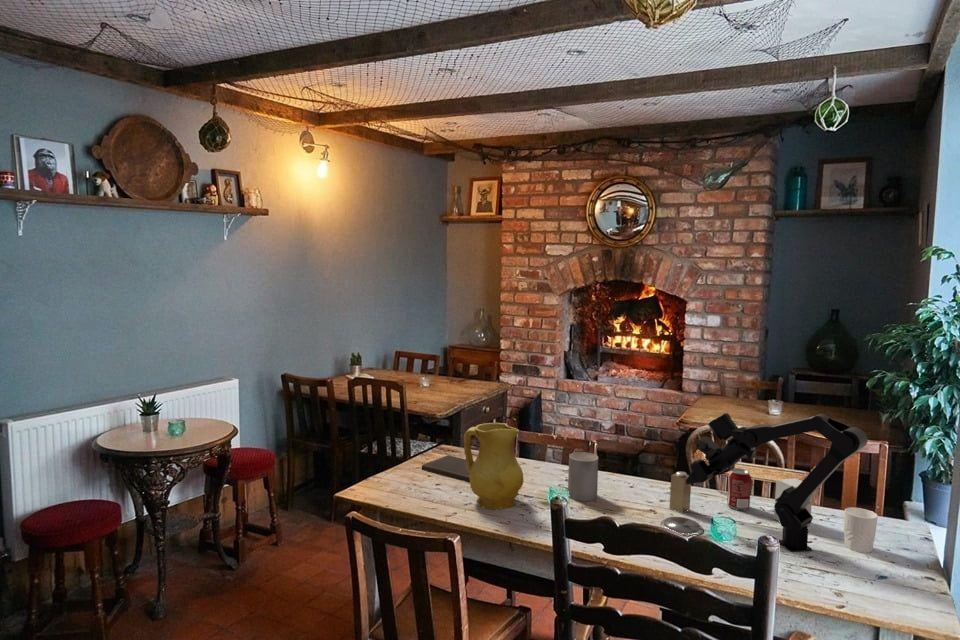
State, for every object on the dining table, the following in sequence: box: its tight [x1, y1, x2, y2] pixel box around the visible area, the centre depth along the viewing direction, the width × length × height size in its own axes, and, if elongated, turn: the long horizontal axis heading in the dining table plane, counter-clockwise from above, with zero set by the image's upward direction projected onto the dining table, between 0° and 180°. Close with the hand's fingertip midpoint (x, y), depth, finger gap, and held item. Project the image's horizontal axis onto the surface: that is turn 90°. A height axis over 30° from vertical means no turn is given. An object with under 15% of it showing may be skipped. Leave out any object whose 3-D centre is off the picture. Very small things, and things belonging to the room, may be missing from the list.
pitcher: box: [463, 422, 524, 510], centre depth 204 cm, size 17×19×25 cm
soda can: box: [726, 467, 752, 511], centre depth 204 cm, size 7×7×12 cm
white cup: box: [843, 507, 879, 554], centre depth 176 cm, size 8×8×10 cm
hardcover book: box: [421, 454, 470, 483], centre depth 234 cm, size 16×23×2 cm
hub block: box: [669, 471, 692, 514], centre depth 201 cm, size 4×4×12 cm
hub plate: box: [659, 516, 704, 537], centre depth 187 cm, size 12×12×1 cm
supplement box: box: [773, 478, 813, 527], centre depth 193 cm, size 7×7×13 cm
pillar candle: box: [567, 451, 599, 502], centre depth 210 cm, size 10×10×15 cm
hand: (693, 479), depth 198 cm, fingers open, 9 cm apart
